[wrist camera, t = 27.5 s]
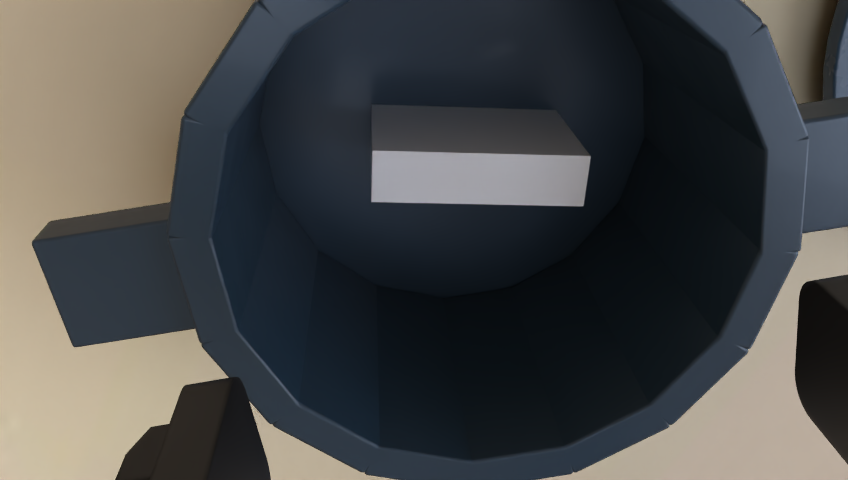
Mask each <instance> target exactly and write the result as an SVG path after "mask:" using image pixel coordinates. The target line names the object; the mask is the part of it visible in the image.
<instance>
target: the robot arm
mask: <svg viewBox="0 0 848 480" xmlns="http://www.w3.org/2000/svg"><path fill="white" fill-rule="evenodd" d="M795 380H796V387H797V391H798V394H799V398H800V400H801V403H802V405H803V407H804V409H805V411H806V413H807V414H808V416H809V417H810V419H811V420H812V421H813V422H814V424H815V425H816V426H817V427H818V428H819V430H820V431H821V432H822V433H823V435H824V436H825V437H826V438H827V439H828V441H829V442H830V443H831V444H832V446H833V447H834V448H835V449H836V451H837V452H838V453H839V454H840V455H841V457H842V458H843V459H844V460H845V462H846V463H847V464H848V275H843V276H837V277H831V278H825V279H819V280H813V281H808V282H806V283H805V284H804V285H803V286H802V289H801V291H800V296H799V310H798V328H797V346H796V363H795ZM115 480H271V479H270V472H269V466H268V462H267V458H266V455H265V452H264V448H263V445H262V442H261V439H260V435H259V432H258V429H257V426H256V422H255V419H254V416H253V413H252V409H251V406H250V403H249V400H248V396H247V393H246V390H245V387H244V385H243V383H242V381H241V379H240V378H239V377H231V378H225V379H219V380H213V381H208V382H202V383H196V384H190V385H185V386H184V387H183V388H182V391H181V393H180V396H179V399H178V401H177V404H176V407H175V410H174V413H173V415H172V418H171V421H170V424H166V425H160V426H155V427H150V429H149V430H148V431H147V432H146V433H145V434H144V435H143V436H142V437H141V438H140V439H139V441H138V442H137V443H136V444H135V445H134V446H133V447H132V448H131V449H130V450H129V452H128V453H127V454H126V455H125V458H124V460H123V462H122V465H121V467H120V470H119V472H118V475H117V477H116V479H115Z"/></svg>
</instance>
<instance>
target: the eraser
mask: <svg viewBox="0 0 848 480" xmlns="http://www.w3.org/2000/svg"><path fill="white" fill-rule="evenodd" d="M590 159H591V156H590V154H589V153H588V152H587V151H586V149H585V148H584V147H583V145H582V144H581V143H580V141H579V140H578V139H577V137H576V136H575V135H574V133H573V132H572V131H571V129H570V128H569V127H568V126H567V124H566V123H565V122H564V120H563V119H562V118H561V116H560V115H559V114H558V112H557V111H556V110H538V109H505V108H472V107H440V106H407V105H374V104H372V112H371V202H394V203H442V204H491V205H539V206H584V199H585V193H586V186H587V179H588V172H589V166H590Z"/></svg>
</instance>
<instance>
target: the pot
mask: <svg viewBox="0 0 848 480" xmlns="http://www.w3.org/2000/svg"><path fill="white" fill-rule="evenodd" d="M372 104H374V105H407V106H440V107H472V108H505V109H538V110H556V111H557V112H558V114H559V115H560V116H561V118H562V119H563V120H564V122H565V123H566V124H567V126H568V127H569V128H570V129H571V131H572V132H573V133H574V135H575V136H576V137H577V139H578V140H579V141H580V143H581V144H582V145H583V147H584V148H585V149H586V151H587V152H588V153H589V154H590V156H591V159H590V166H589V172H588V179H587V186H586V193H585V199H584V206H539V205H491V204H442V203H394V202H371V112H372ZM847 226H848V97H841V98H835V99H829V100H822V101H816V102H810V103H803V104H797V103H796V101H795V98H794V95H793V93H792V90H791V88H790V85H789V82H788V80H787V77H786V75H785V72H784V69H783V67H782V64H781V61H780V59H779V56H778V54H777V51H776V48H775V46H774V43H773V41H772V38H771V35H770V33H769V30H768V28H767V26H766V25H765V24H763V23H762V20H761V18H760V17H758V16H757V15H756V14H755V13H754V12H753V11H752V10H751V9H750V8H749V7H747V6H746V5H745V4H744V3H743V2H742V1H741V0H255V1H254V2H253V4H252V5H251V7H250V9H249V10H248V12H247V13H246V15H245V16H244V18H243V20H242V21H241V23H240V24H239V26H238V27H237V29H236V30H235V32H234V34H233V35H232V37H231V38H230V40H229V41H228V43H227V45H226V46H225V48H224V49H223V51H222V52H221V54H220V55H219V57H218V59H217V60H216V62H215V63H214V65H213V66H212V68H211V69H210V71H209V73H208V74H207V76H206V77H205V79H204V80H203V82H202V84H201V85H200V87H199V88H198V90H197V91H196V93H195V94H194V96H193V98H192V99H191V101H190V102H189V104H188V105H187V107H186V109H185V110H184V115H183V117H182V118H181V126H180V133H179V141H178V148H177V156H176V163H175V171H174V179H173V186H172V194H171V201H170V202H169V203H163V204H156V205H150V206H143V207H137V208H131V209H124V210H118V211H112V212H105V213H99V214H92V215H86V216H80V217H73V218H67V219H60V220H54V221H50V222H49V223H48V224H47V225H46V226H45V227H44V228H43V230H42V231H41V232H40V233H39V234H38V235H37V236H36V237H35V239H34V240H33V241H32V246H33V248H34V251H35V253H36V256H37V258H38V261H39V263H40V266H41V268H42V271H43V273H44V276H45V278H46V280H47V283H48V285H49V288H50V290H51V293H52V295H53V298H54V300H55V303H56V305H57V308H58V310H59V313H60V315H61V318H62V320H63V323H64V325H65V328H66V330H67V333H68V335H69V338H70V340H71V343H72V345H73V346H74V347H81V346H87V345H94V344H100V343H106V342H113V341H119V340H126V339H132V338H138V337H145V336H151V335H158V334H164V333H170V332H177V331H183V330H190V329H196V332H197V335H198V338H199V341H200V342H201V343H202V347H203V348H204V350H205V351H206V352H207V353H208V354H209V355H210V356H211V358H212V359H213V360H214V361H215V362H216V363H217V364H218V366H219V367H220V368H221V369H222V370H223V371H224V372H225V374H226V375H227V376H228V377H229V378H231V377H239V378H240V379H241V381H242V383H243V385H244V387H245V390H246V393H247V396H248V400H249V401H250V402H251V403H252V404H253V405H254V407H255V408H256V409H257V410H258V411H259V412H260V413H261V415H262V416H263V417H264V418H265V419H266V420H267V421H268V423H270V424H273V426H274V427H276V428H278V429H280V430H281V431H283V432H285V433H287V434H289V435H291V436H293V437H295V438H297V439H299V440H301V441H303V442H304V443H306V444H308V445H310V446H312V447H314V448H316V449H318V450H320V451H322V452H324V453H326V454H327V455H329V456H331V457H333V458H335V459H337V460H339V461H341V462H343V463H345V464H347V465H348V466H350V467H352V468H354V469H356V470H358V471H360V472H365V474H366V475H371V476H378V477H385V478H391V479H398V480H536V479H542V478H549V477H555V476H562V475H568V474H572V473H573V472H578V471H580V470H582V469H584V468H586V467H588V466H590V465H592V464H594V463H596V462H598V461H601V460H603V459H605V458H607V457H609V456H611V455H613V454H615V453H617V452H619V451H621V450H623V449H625V448H627V447H629V446H631V445H633V444H636V443H638V442H640V441H642V440H644V439H646V438H648V437H650V436H652V435H654V434H656V433H658V432H660V431H662V430H664V429H666V428H668V427H669V424H670V425H672V424H674V423H675V422H676V421H677V420H678V419H679V418H680V417H681V416H682V415H683V414H684V413H685V412H686V411H687V410H688V409H689V408H690V407H691V406H693V405H694V404H695V403H696V402H697V401H698V400H699V399H700V398H701V397H702V396H703V395H704V394H705V393H706V392H707V391H708V390H709V389H710V388H711V387H712V386H713V385H714V384H716V383H717V382H718V381H719V380H720V379H721V378H722V377H723V376H724V375H725V374H726V373H727V372H728V371H729V370H730V369H731V368H732V367H733V366H734V365H735V364H736V363H738V362H739V361H740V360H741V359H742V358H743V357H744V356H745V355H746V354H747V353H748V349H750V348H751V347H752V345H753V343H754V341H755V339H756V337H757V335H758V333H759V331H760V329H761V327H762V325H763V323H764V321H765V319H766V317H767V315H768V313H769V311H770V309H771V307H772V305H773V303H774V301H775V299H776V297H777V295H778V293H779V291H780V289H781V287H782V285H783V283H784V281H785V279H786V277H787V275H788V273H789V271H790V269H791V268H792V266H793V264H794V262H795V260H796V258H797V256H798V251H800V250H801V240H802V233H808V232H815V231H821V230H828V229H834V228H840V227H847Z"/></svg>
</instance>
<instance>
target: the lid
mask: <svg viewBox="0 0 848 480" xmlns="http://www.w3.org/2000/svg"><path fill="white" fill-rule="evenodd" d="M841 97H848V0H839V1H838V3H837V6H836V9H835V13H834V17H833V21H832V24H831V28H830V32H829V35H828V40H827V47H826V54H825V61H824V67H823V100H829V99H835V98H841Z"/></svg>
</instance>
